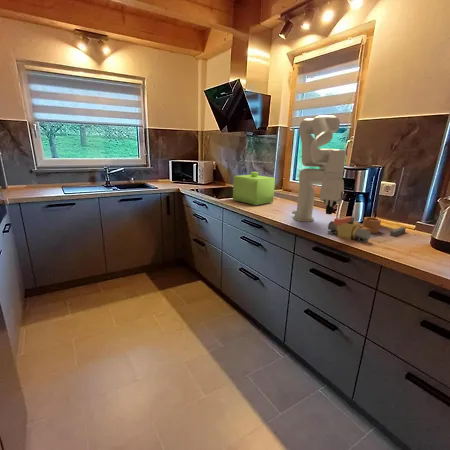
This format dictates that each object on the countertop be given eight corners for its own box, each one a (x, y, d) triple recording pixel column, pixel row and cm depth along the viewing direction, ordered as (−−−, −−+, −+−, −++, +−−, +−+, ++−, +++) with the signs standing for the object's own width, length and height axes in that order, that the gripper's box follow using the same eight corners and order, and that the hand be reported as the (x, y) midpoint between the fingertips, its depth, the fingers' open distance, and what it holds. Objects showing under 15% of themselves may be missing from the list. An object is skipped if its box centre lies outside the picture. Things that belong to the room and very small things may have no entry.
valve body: (326, 232, 146) (328, 218, 143) (333, 230, 150) (335, 216, 148) (363, 244, 131) (366, 228, 128) (370, 241, 135) (373, 225, 132)
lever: (348, 220, 140) (349, 214, 139) (355, 221, 138) (356, 216, 137) (332, 224, 132) (333, 218, 131) (339, 226, 129) (340, 220, 128)
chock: (389, 235, 145) (390, 231, 145) (400, 231, 154) (401, 226, 153) (393, 236, 144) (394, 231, 143) (404, 231, 152) (405, 227, 151)
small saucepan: (370, 228, 158) (372, 216, 155) (381, 232, 150) (384, 220, 148) (344, 230, 152) (346, 218, 150) (354, 234, 145) (357, 222, 143)
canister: (232, 199, 224) (233, 171, 217) (250, 196, 238) (251, 170, 231) (255, 205, 206) (258, 174, 200) (273, 201, 221) (275, 172, 214)
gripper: (315, 175, 133) (311, 211, 138) (344, 178, 122) (338, 218, 127) (324, 174, 138) (320, 210, 142) (353, 177, 126) (347, 216, 131)
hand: (329, 213), depth 135 cm, fingers closed
